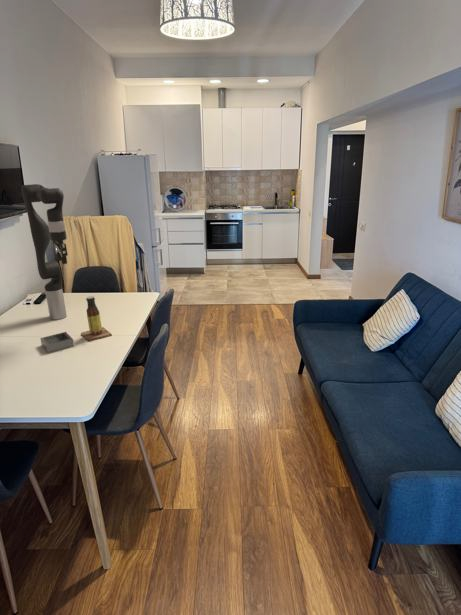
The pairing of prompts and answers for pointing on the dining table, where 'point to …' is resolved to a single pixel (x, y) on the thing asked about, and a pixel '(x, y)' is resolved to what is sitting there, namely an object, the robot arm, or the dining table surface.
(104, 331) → the walnut board
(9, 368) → the dining table surface
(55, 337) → the grey shallow box
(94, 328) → the sauce bottle
